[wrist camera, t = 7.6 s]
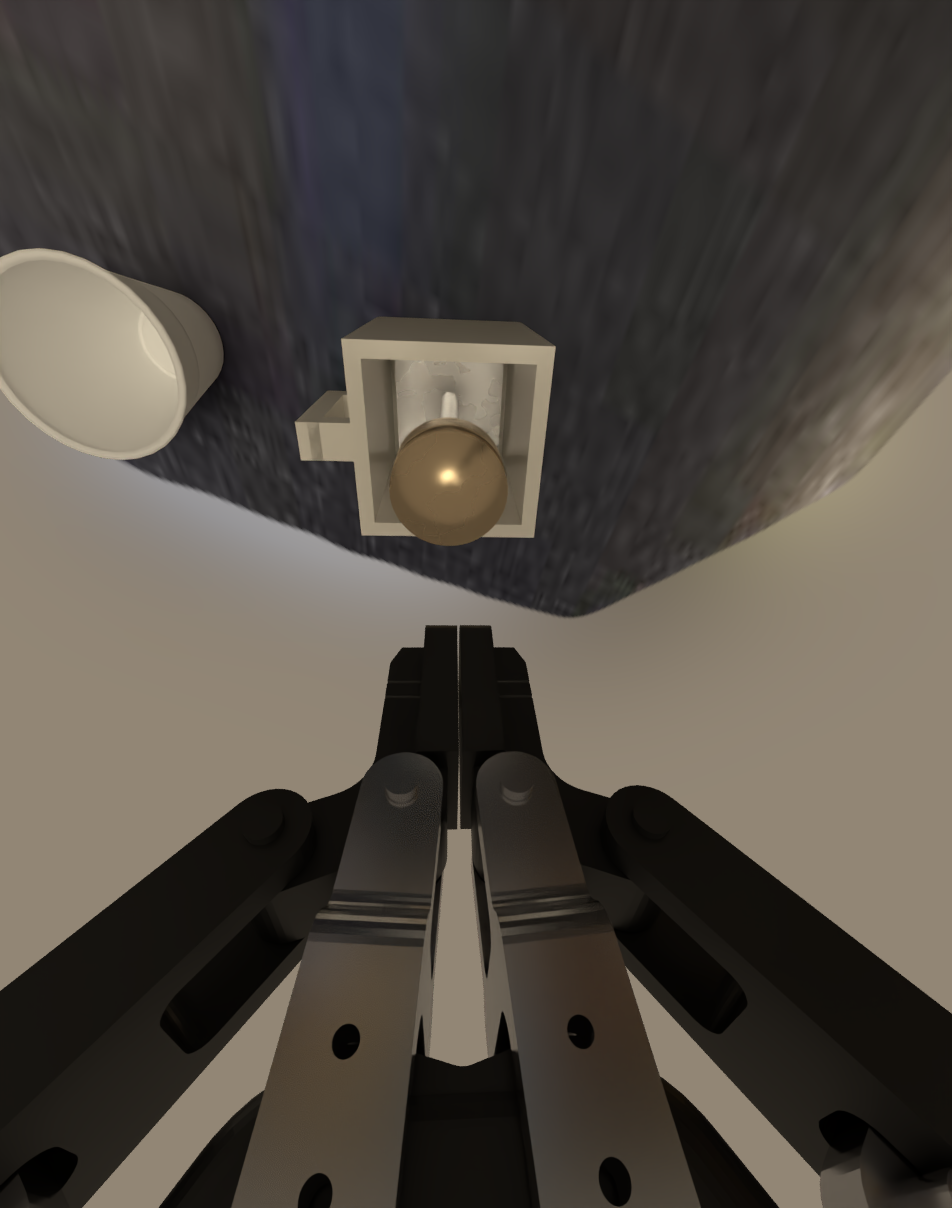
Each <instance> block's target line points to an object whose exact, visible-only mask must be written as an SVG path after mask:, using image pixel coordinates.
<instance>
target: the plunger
mask: <svg viewBox="0 0 952 1208" xmlns="http://www.w3.org/2000/svg"><path fill="white" fill-rule="evenodd" d="M503 370H504V363H477V362H447V361H418V360H395V379H396V399H397V418H398V438H399V450H398V452H397V456H396V459H395V462H394V466H393V469H392V473H391V476H390V482H389V494H390V500H391V504H392V507H393V509H394V512H395V514H396V516H397V517H398V519H399V520H400V522H401V523H402V524H403V525H404V526H405V527H406V528H407V529H408V530H409V531H410V532H411V533H412V534H414V535H415V536H417V537H418V538H420V539H422V540H424V541H427V542H430V543H433V544H437V545H444V546H456V545H462V544H466V543H469V542H472V541H474V540H477V539H478V538H480V537H482V536H483V535H485V534H486V533H487V532H489V531H490V530H491V529H492V528H493V527H494V526H495V524H496V523H497V522H498V520H499V519H500V517H501V515H502V513H503V511H504V509H505V505H506V502H507V496H508V484H507V478H506V474H505V470H504V467H503V463H502V460H501V456H500V453H499V451H498V450H499V434H500V418H501V402H502V386H503Z"/></svg>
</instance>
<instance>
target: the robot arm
mask: <svg viewBox="0 0 952 1208" xmlns="http://www.w3.org/2000/svg"><path fill="white" fill-rule="evenodd" d="M457 658H458V657H457V626H448V625H447V626H446V625H441V626H440V625H439V626H437V625H436V626H435V625H431V626H430V625H426V628H425V640H424V648H402V649H401V650H400V651H399V652H398V654H397V655H396V656H395V658H394V659H393V660H392V662H391V663H390V669H389V676H388V684H387V688H386V696H385V701H384V707H383V714H382V720H381V726H380V733H379V739H378V746H377V752H376V757H375V760H374V763H373V765H372V766H371V767H370V769H369V770H368V771H367V772H366V774H365V776H364V777H363V778H362V779H361V780H360V781H359V782H358V783H357V784H355V785H353V786H352V787H350V788H349V789H347V790H345V791H342V792H340V793H337V794H334V795H331V796H328V797H325V798H321V799H318V800H315V801H312V802H309V803H307V801H306V800H305V799H304V798H303V797H302V796H301V795H299V794H297V793H296V792H293V791H291V790H285V789H272V790H267V791H263V792H260V793H257V794H254V795H252V796H251V797H249V798H247V799H245V800H244V801H242V802H241V803H239V804H238V805H237V806H235V807H234V808H233V809H232V810H230V811H229V812H228V813H227V814H225V815H224V816H223V817H221V818H220V819H219V820H218V821H216V822H215V823H214V824H213V825H212V826H210V827H209V828H207V829H206V830H205V831H204V832H202V833H201V834H200V835H199V836H197V837H196V838H195V839H193V840H192V841H191V842H190V843H188V844H187V845H186V846H184V847H183V848H182V849H181V850H179V851H178V852H177V853H176V854H174V855H173V856H172V857H171V858H169V859H168V860H167V861H165V862H164V863H163V864H162V865H160V866H159V867H158V868H156V869H155V870H154V871H153V872H151V873H150V874H149V875H148V876H146V877H145V878H144V879H143V880H141V881H140V882H139V883H137V884H136V885H135V886H134V887H132V888H131V889H130V890H128V891H127V892H126V893H125V894H123V895H122V896H121V897H119V898H118V899H117V900H116V901H114V902H113V903H112V904H111V905H109V906H108V907H107V908H105V909H104V910H103V911H102V912H100V913H99V914H98V915H97V916H95V917H94V918H93V919H91V920H90V921H89V922H88V923H86V924H85V925H84V926H83V927H81V928H80V929H79V930H77V931H76V932H75V933H74V934H72V935H71V936H70V937H69V938H67V939H66V940H65V941H64V942H62V943H61V944H60V945H58V946H57V947H56V948H55V949H53V950H52V951H51V952H49V953H48V954H47V955H46V956H44V957H43V958H42V959H40V960H39V961H38V962H37V963H35V964H34V965H33V966H32V967H30V968H29V969H28V970H26V971H25V972H24V973H23V974H21V975H20V976H19V977H18V978H16V979H15V980H14V981H13V982H11V983H10V984H9V985H7V986H6V987H5V988H4V989H2V990H1V991H0V1208H82V1207H83V1206H84V1205H85V1204H86V1203H87V1202H88V1200H89V1199H90V1198H91V1197H92V1196H93V1195H94V1194H95V1192H96V1191H97V1190H98V1189H99V1188H100V1187H101V1186H102V1185H103V1183H104V1182H105V1181H106V1180H107V1179H108V1178H109V1177H110V1176H111V1174H112V1173H113V1172H114V1171H115V1170H116V1169H117V1168H118V1166H119V1165H120V1164H121V1163H122V1162H123V1161H124V1160H125V1159H126V1157H127V1156H128V1155H129V1154H130V1153H131V1152H132V1151H133V1150H134V1148H135V1147H136V1146H137V1145H138V1144H139V1143H140V1142H141V1140H142V1139H143V1138H144V1137H145V1136H146V1135H147V1134H148V1133H149V1131H150V1130H151V1129H152V1128H153V1127H154V1126H155V1125H156V1123H157V1122H158V1121H159V1120H160V1119H161V1118H162V1117H163V1116H164V1114H165V1113H166V1112H167V1111H168V1110H169V1109H170V1108H171V1107H172V1105H173V1104H174V1103H175V1102H176V1101H177V1100H178V1099H179V1097H180V1096H181V1095H182V1094H183V1093H184V1092H185V1091H186V1089H187V1088H188V1087H189V1086H190V1085H191V1084H192V1083H193V1082H194V1081H195V1079H196V1078H197V1077H198V1076H199V1075H200V1074H201V1073H202V1071H203V1070H204V1069H205V1068H206V1067H207V1066H208V1065H209V1064H210V1062H211V1061H212V1060H213V1059H214V1058H215V1057H216V1055H217V1054H218V1053H219V1052H220V1051H221V1050H222V1049H223V1048H224V1046H225V1045H226V1044H227V1043H228V1042H229V1041H230V1040H231V1039H232V1038H233V1036H234V1035H235V1034H236V1033H237V1032H238V1031H239V1030H240V1028H241V1027H242V1026H243V1025H244V1024H245V1023H246V1022H247V1020H248V1019H249V1018H250V1017H251V1016H252V1015H253V1014H254V1013H255V1012H256V1010H257V1009H258V1008H259V1007H260V1006H261V1005H262V1004H263V1002H264V1001H265V1000H266V999H267V998H268V997H269V996H270V994H271V993H272V992H273V991H274V990H275V989H276V988H277V987H278V985H279V984H280V983H281V982H282V981H283V980H284V978H286V976H287V975H288V974H289V973H290V972H291V971H292V970H293V969H294V967H295V966H296V965H297V964H298V963H299V962H300V961H301V964H300V967H299V971H298V974H297V978H296V981H295V985H294V988H293V992H292V995H291V999H290V1002H289V1006H288V1009H287V1013H286V1016H285V1020H284V1023H283V1027H282V1030H281V1034H280V1037H279V1041H278V1045H277V1048H276V1052H275V1055H274V1059H273V1062H272V1066H271V1069H270V1073H269V1076H268V1080H267V1084H266V1087H265V1090H264V1091H262V1092H261V1093H259V1094H258V1095H257V1096H255V1097H254V1098H253V1099H251V1100H250V1101H249V1102H248V1103H247V1104H246V1105H245V1106H244V1107H242V1108H241V1109H240V1110H239V1111H238V1112H237V1113H236V1114H235V1115H234V1116H233V1117H231V1119H230V1120H229V1121H228V1122H227V1123H226V1124H225V1125H224V1126H223V1127H222V1128H221V1129H220V1131H219V1132H218V1133H217V1134H216V1135H215V1136H214V1137H213V1138H212V1139H211V1140H210V1142H209V1143H208V1144H207V1145H206V1147H205V1148H204V1149H203V1151H202V1152H201V1153H200V1154H199V1156H198V1157H197V1158H196V1159H195V1161H194V1162H193V1163H192V1165H191V1166H190V1167H189V1169H188V1170H187V1171H186V1172H185V1174H184V1175H183V1176H182V1178H181V1179H180V1180H179V1182H178V1183H177V1184H176V1186H175V1187H174V1188H173V1189H172V1191H171V1192H170V1193H169V1195H168V1196H167V1197H166V1199H165V1200H164V1201H163V1203H162V1204H161V1205H160V1207H159V1208H779V1207H778V1206H777V1204H776V1203H775V1202H774V1201H773V1199H771V1197H770V1196H769V1195H768V1193H767V1192H766V1191H765V1190H764V1188H763V1187H762V1186H761V1185H760V1183H759V1182H758V1181H757V1180H756V1179H755V1177H754V1176H753V1175H752V1174H751V1172H750V1171H749V1170H748V1169H747V1167H745V1165H744V1164H743V1163H742V1161H741V1160H740V1159H739V1158H738V1156H737V1155H736V1154H735V1153H734V1151H733V1150H732V1149H731V1148H730V1147H729V1146H728V1144H727V1143H726V1142H725V1141H724V1139H723V1138H722V1137H721V1135H720V1134H719V1133H718V1132H717V1131H716V1129H715V1128H714V1127H713V1126H712V1125H711V1123H710V1122H709V1121H708V1120H707V1119H706V1118H705V1116H704V1115H703V1114H702V1113H701V1112H700V1111H699V1110H697V1108H696V1107H695V1106H694V1105H693V1104H692V1103H691V1102H690V1101H689V1100H688V1099H687V1098H686V1097H685V1096H684V1095H683V1094H682V1093H680V1092H679V1091H678V1090H677V1089H676V1088H674V1087H673V1086H672V1085H671V1084H669V1083H668V1082H667V1081H666V1080H664V1079H663V1078H662V1077H660V1075H659V1072H658V1069H657V1066H656V1063H655V1060H654V1056H653V1053H652V1050H651V1047H650V1043H649V1040H648V1037H647V1034H646V1031H645V1028H644V1024H643V1021H642V1018H641V1015H640V1012H639V1009H638V1005H637V1002H636V999H635V996H634V993H633V989H632V986H631V983H630V980H629V977H628V973H627V970H626V967H627V968H628V970H629V971H630V972H631V973H632V974H633V975H634V976H635V977H636V978H637V979H638V980H639V981H640V983H641V984H642V985H643V986H644V987H645V988H646V989H647V990H648V991H649V992H650V993H651V994H652V996H653V997H654V998H655V999H656V1000H657V1001H658V1002H659V1003H660V1004H661V1005H662V1006H663V1007H664V1008H665V1010H666V1011H667V1012H668V1013H669V1014H670V1015H671V1016H672V1017H673V1018H674V1019H675V1020H676V1021H677V1023H679V1025H681V1027H682V1028H683V1029H684V1030H685V1031H686V1032H687V1033H688V1034H689V1035H690V1037H691V1038H692V1039H693V1040H694V1041H695V1042H696V1043H697V1044H698V1045H699V1046H700V1047H701V1048H702V1049H703V1051H704V1052H705V1053H706V1054H707V1055H708V1056H709V1057H710V1058H711V1059H712V1060H713V1061H714V1062H715V1064H716V1065H717V1066H718V1067H719V1068H720V1069H721V1070H722V1071H723V1072H724V1073H725V1074H726V1075H727V1077H728V1078H729V1079H730V1080H731V1081H732V1082H733V1083H734V1084H735V1085H736V1086H737V1087H738V1088H739V1089H740V1090H741V1092H742V1093H743V1094H744V1095H745V1096H746V1097H747V1098H748V1099H749V1100H750V1101H751V1102H752V1104H753V1105H754V1106H755V1107H756V1108H757V1109H758V1110H759V1111H760V1112H761V1113H762V1114H763V1115H764V1116H765V1118H766V1119H767V1120H768V1121H769V1122H770V1123H771V1124H772V1125H773V1126H774V1127H775V1128H776V1129H777V1130H778V1132H779V1133H780V1134H781V1135H782V1136H783V1137H784V1138H785V1139H786V1140H787V1141H788V1142H789V1144H790V1145H791V1146H792V1147H793V1148H794V1149H795V1150H796V1151H797V1152H798V1153H799V1154H800V1155H801V1157H803V1159H804V1160H805V1161H806V1162H807V1163H808V1164H809V1165H810V1166H811V1167H812V1168H813V1169H814V1170H815V1172H816V1173H817V1174H818V1175H819V1176H820V1191H821V1200H822V1205H823V1208H952V1014H951V1013H950V1012H949V1011H947V1010H946V1009H945V1008H943V1007H942V1006H941V1005H940V1004H938V1003H937V1002H936V1001H934V1000H933V999H932V998H930V997H929V996H928V995H927V994H925V993H924V992H923V991H921V990H920V989H919V988H917V987H916V986H915V985H914V984H912V983H911V982H910V981H909V980H907V979H906V978H905V977H903V976H902V975H901V974H899V973H898V972H897V971H895V970H894V969H893V968H892V967H890V966H889V965H888V964H887V963H885V962H884V961H883V960H881V959H880V958H879V957H877V956H876V955H875V954H873V953H872V952H871V951H870V950H868V949H867V948H866V947H864V946H863V945H862V944H860V943H859V942H858V941H857V940H855V939H854V938H853V937H851V936H850V935H849V934H848V933H846V932H845V931H844V930H842V929H841V928H840V927H838V926H837V925H836V924H835V923H833V922H832V921H831V920H829V919H828V918H827V917H826V916H824V915H823V914H822V913H820V912H819V911H818V910H816V909H815V908H814V907H813V906H811V905H810V904H809V903H807V902H806V901H805V900H803V899H802V898H801V897H800V896H798V895H797V894H796V893H794V892H793V891H792V890H790V889H789V888H788V887H787V886H785V885H784V884H783V883H781V882H780V881H779V880H778V879H776V878H775V877H774V876H772V875H771V874H770V873H769V872H767V871H766V870H765V869H763V868H762V867H761V866H759V865H758V864H757V863H756V862H754V861H753V860H752V859H750V858H749V857H748V856H747V855H745V854H744V853H743V852H741V851H740V850H739V849H737V848H736V847H735V846H734V845H732V844H731V843H729V842H728V841H727V840H726V839H724V838H723V837H722V836H721V835H719V834H718V833H717V832H715V831H714V830H713V829H712V828H710V827H709V826H708V825H706V824H705V823H704V822H702V821H701V820H700V819H698V818H697V817H696V816H695V815H693V814H692V813H691V812H689V811H688V810H687V809H686V808H684V807H683V806H682V805H680V804H679V803H678V802H677V801H675V800H674V799H673V798H671V797H670V796H668V795H667V794H665V793H663V792H661V791H659V790H656V789H654V788H651V787H646V786H639V785H636V786H628V787H624V788H622V789H620V790H618V791H617V792H615V793H614V794H613V795H612V796H611V798H608V797H605V796H602V795H598V794H594V793H591V792H587V791H584V790H581V789H578V788H575V787H573V786H571V785H569V784H567V783H566V782H564V781H563V780H561V779H560V778H559V777H558V776H557V775H556V774H555V773H554V772H553V771H552V770H551V769H550V767H549V766H548V764H547V763H546V760H545V758H544V755H543V751H542V746H541V740H540V735H539V730H538V725H537V719H536V715H535V710H534V704H533V699H532V693H531V688H530V684H529V677H528V672H527V667H526V662H525V661H524V660H523V659H522V657H521V656H520V655H519V653H518V652H517V651H516V650H515V648H505V647H503V648H501V647H498V648H496V647H495V648H494V647H493V638H492V630H491V626H485V625H483V626H482V625H480V626H476V625H475V626H474V625H469V626H468V625H460V631H459V680H458V661H457V660H458V659H457ZM458 684H459V685H458ZM458 701H459V725H458ZM459 759H460V760H459ZM458 764H460V825H461V826H460V828H461V829H471V833H472V835H471V836H472V864H471V873H472V882H473V890H474V901H475V910H476V919H477V929H478V938H479V947H480V957H481V965H482V975H483V988H484V1012H485V1028H486V1039H487V1050H488V1058H487V1059H484V1060H482V1061H480V1062H477V1063H475V1064H472V1065H469V1066H456V1065H452V1064H449V1063H446V1062H443V1061H439V1060H436V1059H433V1058H430V1057H429V1051H430V1038H431V1024H432V1006H433V988H434V975H435V963H436V952H437V941H438V929H439V918H440V907H441V906H440V905H441V895H442V884H443V870H444V868H445V865H446V861H447V829H457V811H458V810H457V809H458V768H459V765H458ZM301 959H302V960H301ZM625 966H626V967H625Z"/></svg>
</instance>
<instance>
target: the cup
mask: <svg viewBox="0 0 952 1208" xmlns="http://www.w3.org/2000/svg"><path fill="white" fill-rule="evenodd" d="M223 358H224V351H223V345H222V341H221V338H220V335H219V332H218V330H217V328H216V326H215V324H214V323H213V321H212V320H211V319H210V317H209V316H208V314H207V313H206V312H205V311H204V310H203V309H202V308H201V307H200V306H199V305H197V304H196V303H195V302H193V301H192V300H191V299H189V298H187V297H185V296H184V295H182V294H179V293H176V292H173V291H170V290H167V289H164V288H161V287H158V286H154V285H151V284H148V283H145V282H141V281H138V280H135V279H132V278H129V277H126V276H123V275H119V274H116V273H113V272H110V271H107V270H105V269H103V268H101V267H100V266H98V265H96V264H94V263H92V262H90V261H88V260H87V259H84V258H81V257H78V256H75V255H72V254H69V253H67V252H64V251H58V250H50V249H43V248H36V249H25V250H18V251H15V252H12V253H10V254H7V255H5V256H2V257H0V389H1V390H2V392H3V393H4V395H5V396H6V397H7V398H8V400H9V401H10V402H11V403H12V404H13V405H14V406H15V407H16V408H17V409H18V410H19V411H20V412H21V413H22V414H23V415H24V416H25V417H26V418H27V419H28V420H29V421H30V422H32V423H33V424H34V425H35V426H37V427H38V428H39V429H41V430H42V431H43V432H45V433H46V434H47V435H49V436H51V437H52V438H54V439H56V440H57V441H59V442H61V443H62V444H64V445H66V446H69V447H71V448H73V449H76V450H78V451H80V452H83V453H86V454H89V455H93V456H97V457H100V458H107V459H117V460H126V459H137V458H141V457H144V456H147V455H150V454H153V453H155V452H156V451H158V450H160V449H161V448H163V447H165V446H166V445H167V444H168V443H169V442H170V441H171V440H172V439H173V437H174V436H175V435H176V434H177V432H178V430H179V428H180V426H181V424H182V422H183V419H184V417H185V416H186V415H187V414H188V412H189V411H190V410H191V408H192V407H193V406H194V405H195V403H196V402H197V401H198V400H199V399H200V397H201V396H202V395H203V394H204V393H205V391H206V390H207V389H208V388H209V387H210V385H211V384H212V383H213V382H214V381H215V379H216V378H217V377H218V375H219V373H220V371H221V369H222V365H223Z"/></svg>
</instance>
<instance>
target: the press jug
mask: <svg viewBox="0 0 952 1208" xmlns="http://www.w3.org/2000/svg"><path fill="white" fill-rule="evenodd" d="M341 341H342V351H343V360H344V370H345V380H346V389H347V391H327V392H326V393H325V394H324V395H322V396H321V397H320V398H319V399H318V400H317V401H316V402H315V403H314V404H313V405H312V406H311V407H310V408H309V409H308V410H307V411H306V412H305V413H304V414H303V415H302V416H301V417H299V418H298V419H297V420H296V421H295V426H296V432H297V438H298V444H299V450H300V456H301V460H316V461H354V466H355V476H356V486H357V495H358V505H359V515H360V524H361V534H362V535H380V536H415V535H414V534H412V533H411V532H410V531H409V530H408V529H407V528H406V527H405V526H404V525H403V524H402V523H401V522H400V520H399V519H398V517H397V516H396V514H395V512H394V509H393V507H392V504H391V500H390V494H389V482H390V476H391V473H392V469H393V466H394V462H395V459H396V456H397V452H398V450H399V438H398V418H397V399H396V379H395V360H418V361H447V362H477V363H504V370H503V386H502V402H501V418H500V434H499V450H498V451H499V453H500V456H501V460H502V463H503V467H504V470H505V474H506V478H507V484H508V496H507V502H506V505H505V509H504V511H503V513H502V515H501V517H500V519H499V520H498V522H497V523H496V524H495V526H494V527H493V528H492V529H491V530H490V531H489V532H487V533H486V534H485V535H483V536H482V537H527V538H534V531H535V523H536V514H537V505H538V496H539V487H540V479H541V470H542V461H543V452H544V443H545V435H546V426H547V417H548V408H549V399H550V391H551V382H552V373H553V364H554V356H555V347H556V346H554V345H553V344H551V343H550V342H548V341H547V340H545V339H544V338H543V337H541V336H540V335H538V334H537V333H535V332H534V331H532V330H531V329H529V328H528V327H527V326H525V325H524V324H522V323H521V322H504V321H479V320H453V319H427V318H402V317H377V318H375V319H373V320H372V321H370V322H368V323H367V324H365V325H363V326H362V327H360V328H358V329H357V330H355V331H353V332H352V333H350V334H348V335H347V336H345V337H343V338H342V339H341Z"/></svg>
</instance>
